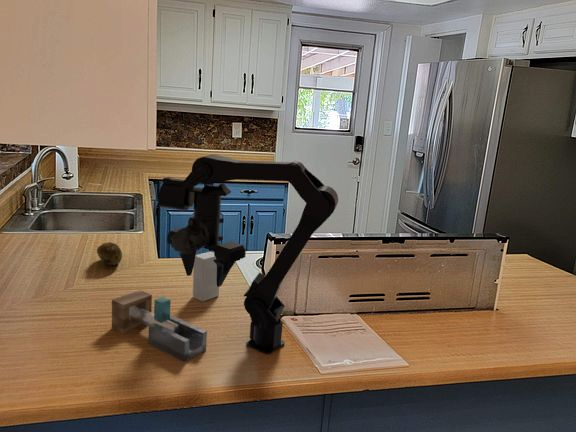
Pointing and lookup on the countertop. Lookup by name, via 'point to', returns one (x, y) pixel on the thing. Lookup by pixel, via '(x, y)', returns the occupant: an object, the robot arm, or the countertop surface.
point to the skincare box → (205, 277)
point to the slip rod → (155, 315)
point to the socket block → (121, 310)
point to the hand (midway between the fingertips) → (203, 280)
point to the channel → (178, 339)
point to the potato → (109, 253)
